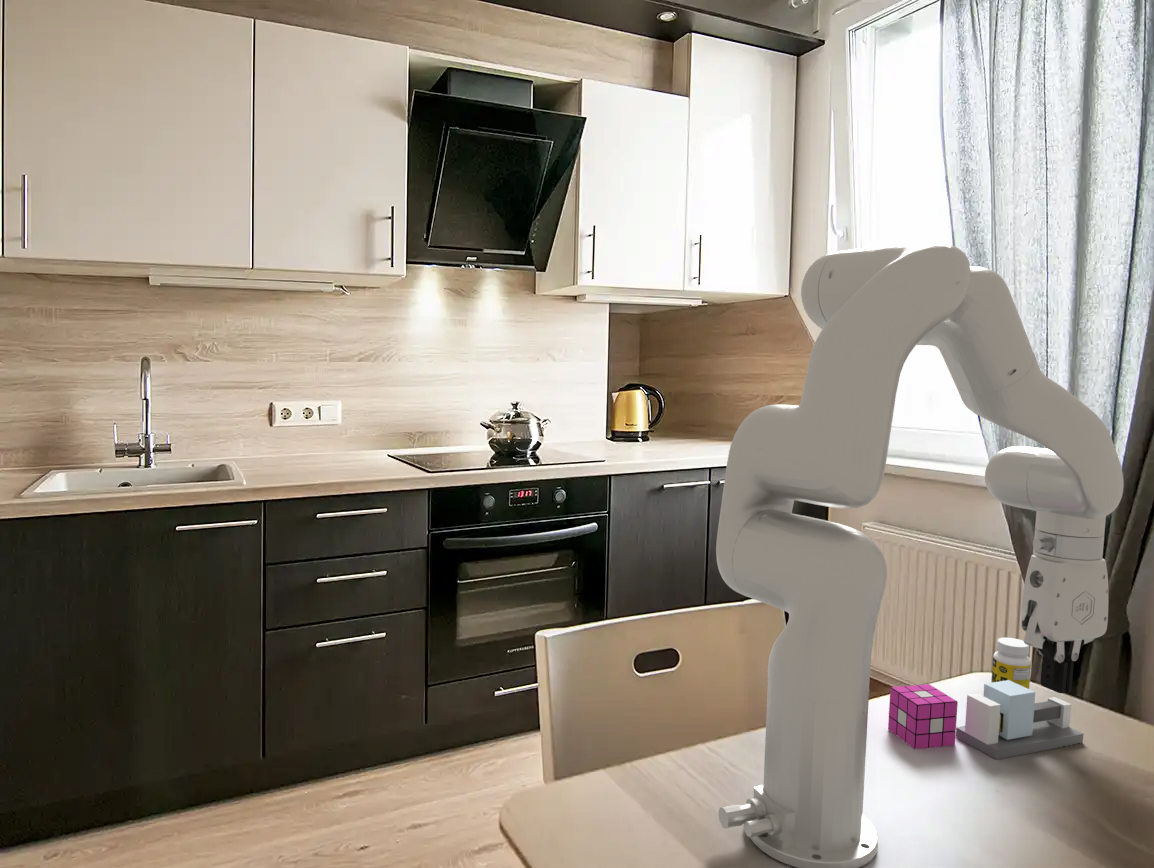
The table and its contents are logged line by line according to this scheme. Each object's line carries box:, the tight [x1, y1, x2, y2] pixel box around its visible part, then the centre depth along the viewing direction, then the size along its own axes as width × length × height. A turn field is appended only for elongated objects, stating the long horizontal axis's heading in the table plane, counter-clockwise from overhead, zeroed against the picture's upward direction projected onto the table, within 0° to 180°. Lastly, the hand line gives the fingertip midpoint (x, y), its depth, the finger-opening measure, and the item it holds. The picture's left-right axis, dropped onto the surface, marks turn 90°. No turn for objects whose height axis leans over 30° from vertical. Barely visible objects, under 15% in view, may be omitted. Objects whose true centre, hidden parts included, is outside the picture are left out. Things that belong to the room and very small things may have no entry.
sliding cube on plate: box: [955, 692, 1084, 760], centre depth 108 cm, size 14×6×6 cm, turn 110°
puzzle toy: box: [887, 683, 958, 750], centre depth 108 cm, size 6×6×6 cm
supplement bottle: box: [990, 637, 1032, 689], centre depth 120 cm, size 5×5×8 cm
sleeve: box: [983, 680, 1036, 740], centre depth 107 cm, size 4×4×6 cm
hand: (1055, 688), depth 109 cm, fingers closed
